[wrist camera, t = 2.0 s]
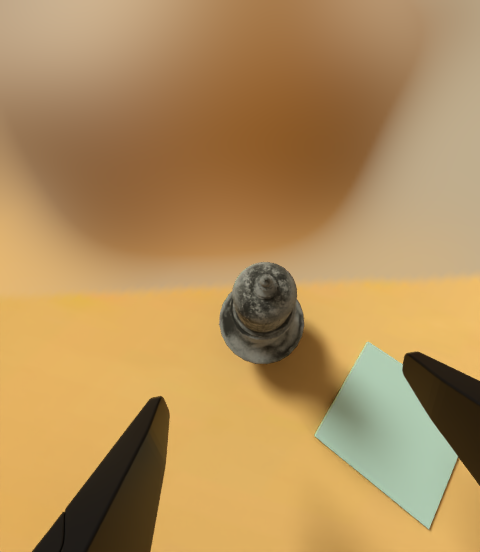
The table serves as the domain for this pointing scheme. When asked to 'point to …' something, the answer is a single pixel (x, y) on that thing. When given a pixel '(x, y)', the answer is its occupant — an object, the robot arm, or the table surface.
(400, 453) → the plate
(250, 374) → the table surface
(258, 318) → the grey stone tiered figure
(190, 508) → the table surface
